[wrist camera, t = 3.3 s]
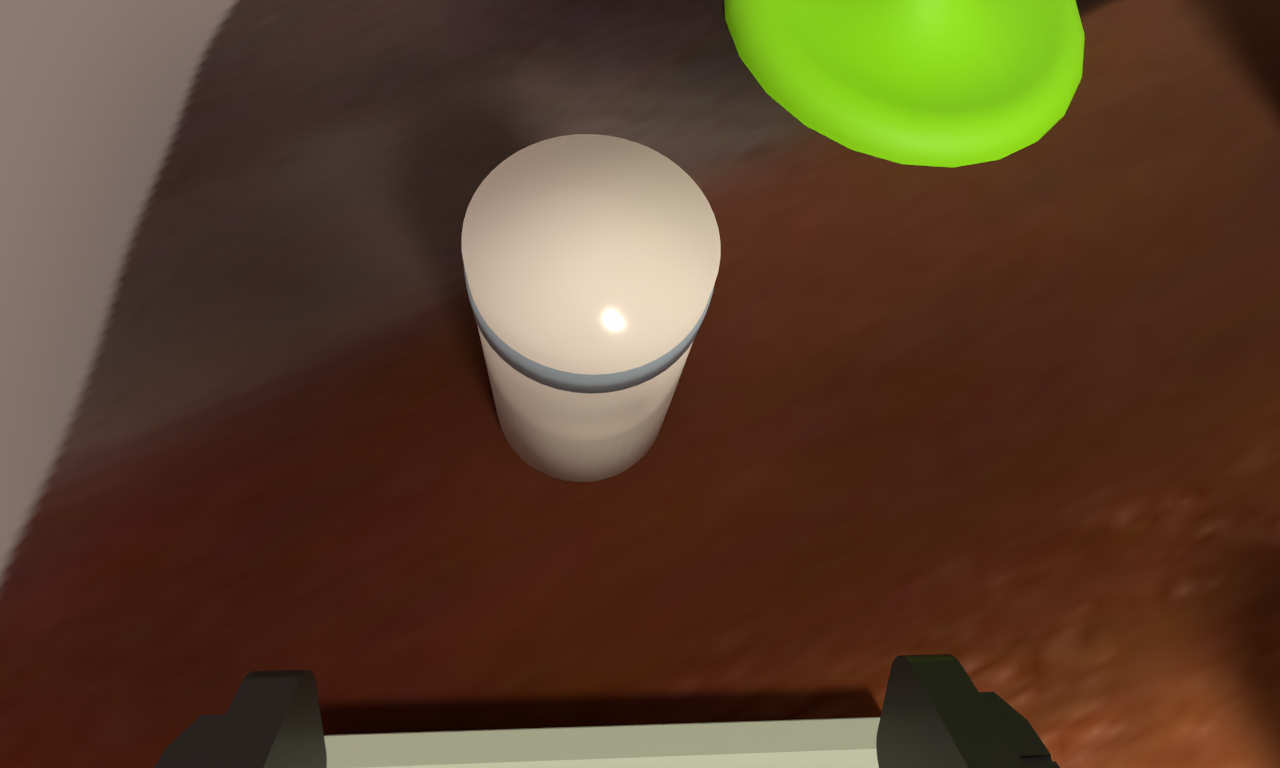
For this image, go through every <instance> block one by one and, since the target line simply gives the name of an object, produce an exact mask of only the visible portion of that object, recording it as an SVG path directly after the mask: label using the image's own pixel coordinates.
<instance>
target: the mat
mask: <svg viewBox="0 0 1280 768" xmlns="http://www.w3.org/2000/svg"><path fill="white" fill-rule="evenodd" d="M879 722H880V717H862V718H832V719H801V720H771V721H740V722H709V723H679V724H648V725H617V726H587V727H556V728H526V729H495V730H464V731H434V732H403V733H372V734H342V735H326V736H324V740H325V746H326V754H327V768H879V765H878V760H877V750H876V738H877V731H878V726H879Z"/></svg>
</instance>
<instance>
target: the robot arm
mask: <svg viewBox="0 0 1280 768" xmlns="http://www.w3.org/2000/svg"><path fill="white" fill-rule="evenodd" d="M876 750H877V760H878V765H879V768H1060V767H1059V766H1058V765H1057V763H1056V762H1052V760H1051V754H1050V753H1049V751H1048V750H1047V748H1046V747H1045V745H1044V744H1043V742H1042V741H1041V740H1040V738H1039V737H1038V735H1037V734H1036V732H1035V731H1034V729H1033V728H1032V726H1031V725H1030V723H1029V722H1028V721H1027V720H1026V719H1025V718H1024V717H1023V716H1022V715H1020V714H1019V713H1018V712H1017V711H1016V710H1015V709H1013V708H1012V707H1011V706H1010V705H1009V704H1007V703H1006V702H1005V701H1004V700H1003V699H1002V698H1000V697H999V696H998V695H997V694H996V693H994V692H978V690H977V689H976V687H975V686H974V684H973V683H972V681H971V679H970V678H969V676H968V675H967V673H966V672H965V670H964V668H963V667H962V665H961V664H960V662H959V661H958V660H957V659H956V658H955V657H954V656H952V655H949V654H942V655H906V656H898V657H896V658H895V660H894V662H893V664H892V667H891V672H890V676H889V681H888V685H887V690H886V695H885V699H884V704H883V708H882V713H881V717H880V722H879V726H878V731H877V738H876ZM155 768H327V754H326V746H325V740H324V733H323V727H322V720H321V714H320V707H319V701H318V694H317V688H316V682H315V677H314V674H313V673H312V671H311V670H285V671H252V672H250V673H249V674H247V676H246V677H245V678H244V680H243V682H242V683H241V685H240V687H239V689H238V691H237V693H236V695H235V697H234V699H233V701H232V703H231V705H230V707H229V709H228V711H227V713H226V715H201V716H200V717H199V718H198V719H197V720H196V721H195V722H194V723H193V724H191V725H190V726H189V727H188V728H187V729H186V730H185V731H184V732H183V733H182V734H181V735H180V736H179V737H178V738H177V739H176V740H175V741H173V742H172V743H171V744H170V745H169V746H168V747H167V748H166V749H165V750H164V752H163V754H162V756H161V757H160V759H159V761H158V763H157V764H156V766H155Z"/></svg>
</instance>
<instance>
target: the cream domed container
mask: <svg viewBox="0 0 1280 768" xmlns="http://www.w3.org/2000/svg"><path fill="white" fill-rule="evenodd" d="M461 237H462V256H463V262H464V275H465V281H466V287H467V291H468V295H469V300H470V304H471V308H472V311H473V314H474V317H475V321H476V323H477V325H478V330H479V334H480V339H481V343H482V348H483V352H484V357H485V361H486V366H487V370H488V375H489V379H490V384H491V388H492V393H493V397H494V402H495V406H496V410H497V415H498V419H499V423H500V426H501V429H502V432H503V434H504V436H505V438H506V440H507V442H508V443H509V445H510V446H511V448H512V449H513V450H514V451H515V452H516V454H517V455H518V456H519V457H520V458H521V459H522V460H523V461H525V462H526V463H527V464H528V465H530V466H531V467H533V468H534V469H536V470H537V471H539V472H541V473H543V474H545V475H547V476H550V477H553V478H556V479H560V480H565V481H570V482H592V481H598V480H603V479H606V478H609V477H612V476H615V475H617V474H619V473H621V472H623V471H625V470H627V469H628V468H630V467H631V466H633V465H634V464H635V463H637V462H638V461H639V460H640V459H641V458H642V457H643V456H644V455H645V454H646V453H647V452H648V450H649V449H650V448H651V446H652V445H653V443H654V442H655V440H656V438H657V436H658V434H659V432H660V429H661V426H662V424H663V421H664V418H665V416H666V413H667V410H668V407H669V405H670V402H671V399H672V397H673V394H674V391H675V389H676V386H677V383H678V381H679V378H680V375H681V373H682V370H683V367H684V365H685V362H686V359H687V356H688V354H689V351H690V348H691V346H692V343H693V340H694V339H695V337H696V335H697V333H698V331H699V329H700V327H701V325H702V322H703V320H704V317H705V314H706V312H707V309H708V306H709V303H710V300H711V297H712V294H713V289H714V284H715V280H716V277H717V274H718V270H719V263H720V237H719V230H718V226H717V223H716V219H715V216H714V213H713V211H712V209H711V207H710V205H709V202H708V201H707V199H706V197H705V196H704V194H703V193H702V191H701V189H700V188H699V187H698V186H697V185H696V183H695V182H694V181H693V180H692V179H691V177H690V176H689V175H688V174H686V173H685V172H684V171H683V170H682V169H681V168H680V167H679V166H678V165H676V164H675V163H674V162H672V161H671V160H669V159H668V158H667V157H665V156H663V155H661V154H660V153H658V152H656V151H655V150H653V149H650V148H648V147H646V146H643V145H641V144H639V143H636V142H632V141H629V140H626V139H622V138H617V137H612V136H606V135H596V134H576V135H567V136H560V137H556V138H551V139H547V140H544V141H541V142H538V143H535V144H532V145H530V146H528V147H526V148H524V149H522V150H520V151H518V152H516V153H514V154H513V155H511V156H510V157H508V158H507V159H505V160H504V161H503V162H501V163H500V164H499V165H498V166H497V167H496V168H495V169H493V170H492V171H491V172H490V174H489V175H488V176H487V177H486V178H485V179H484V180H483V181H482V183H481V184H480V186H479V187H478V189H477V190H476V192H475V193H474V195H473V197H472V199H471V202H470V204H469V206H468V208H467V212H466V215H465V218H464V222H463V229H462V236H461Z"/></svg>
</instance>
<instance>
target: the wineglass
mask: <svg viewBox="0 0 1280 768" xmlns="http://www.w3.org/2000/svg"><path fill="white" fill-rule="evenodd" d="M724 5H725V20H726V23H727V25H728V28H729V30H730V33H731V36H732V38H733V41H734V43H735V46H736V49H737V51H738V54H739V57H740V58H741V59H742V61H743V62H744V63H745V65H746V66H747V67H748V69H749V70H750V72H751V73H752V74H753V76H754V77H755V78H756V80H757V81H758V82H759V84H760V85H761V86H762V88H763V89H764V90H765V92H766V93H767V94H768V95H769V96H770V97H772V98H773V99H774V100H775V101H776V102H778V103H779V104H780V105H781V106H782V107H784V108H785V109H786V110H787V111H788V112H790V113H791V114H792V115H793V116H794V117H796V118H797V119H798V120H799V121H800V122H802V123H803V124H804V125H805V126H807V127H809V128H811V129H813V130H815V131H817V132H819V133H821V134H823V135H824V136H826V137H828V138H830V139H832V140H834V141H836V142H838V143H840V144H842V145H843V146H845V147H847V148H849V149H851V150H854V151H858V152H861V153H865V154H868V155H872V156H875V157H879V158H882V159H886V160H889V161H893V162H896V163H900V164H908V165H923V166H938V167H959V166H965V165H970V164H976V163H982V162H988V161H994V160H999V159H1001V158H1003V157H1006V156H1008V155H1010V154H1012V153H1014V152H1016V151H1018V150H1020V149H1022V148H1025V147H1027V146H1029V145H1031V144H1033V143H1035V142H1037V141H1038V140H1039V139H1040V138H1041V137H1042V136H1043V135H1044V134H1045V133H1046V132H1047V131H1048V130H1049V129H1051V128H1052V127H1053V126H1054V125H1055V124H1056V123H1057V122H1058V121H1059V120H1060V119H1061V118H1062V117H1063V116H1064V115H1065V113H1066V110H1067V108H1068V106H1069V104H1070V102H1071V100H1072V98H1073V95H1074V93H1075V91H1076V89H1077V87H1078V85H1079V83H1080V80H1081V77H1082V68H1083V53H1084V39H1085V36H1084V31H1083V27H1082V24H1081V20H1080V16H1079V12H1078V8H1077V5H1076V1H1075V0H724Z"/></svg>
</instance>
